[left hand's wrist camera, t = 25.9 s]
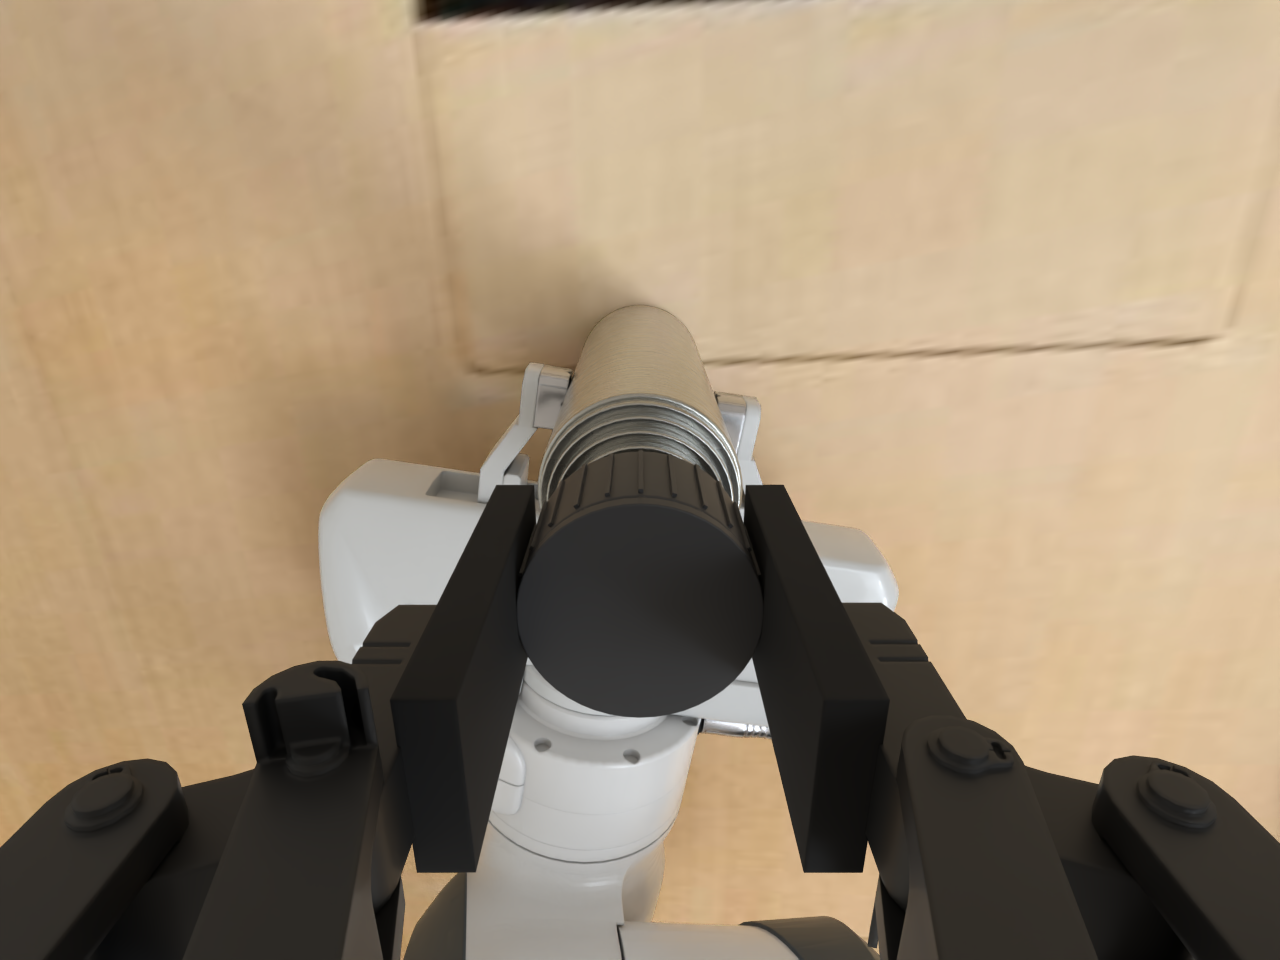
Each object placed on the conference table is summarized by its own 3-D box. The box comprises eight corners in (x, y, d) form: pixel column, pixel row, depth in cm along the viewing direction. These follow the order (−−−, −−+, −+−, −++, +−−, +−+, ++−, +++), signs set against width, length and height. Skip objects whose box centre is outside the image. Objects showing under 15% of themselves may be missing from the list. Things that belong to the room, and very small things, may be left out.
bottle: (565, 395, 31) (466, 658, 13) (607, 285, 29) (556, 423, 12) (670, 436, 32) (708, 739, 14) (717, 332, 30) (827, 528, 12)
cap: (525, 625, 15) (504, 706, 13) (543, 434, 14) (522, 485, 11) (725, 648, 15) (741, 732, 13) (765, 463, 14) (792, 519, 11)
